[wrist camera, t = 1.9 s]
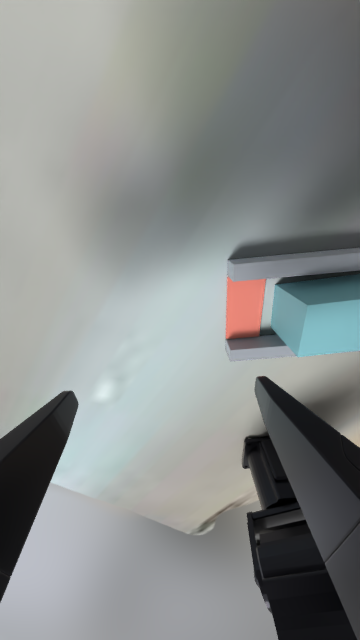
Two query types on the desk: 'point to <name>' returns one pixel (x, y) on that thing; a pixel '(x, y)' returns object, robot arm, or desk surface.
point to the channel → (249, 294)
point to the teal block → (318, 315)
